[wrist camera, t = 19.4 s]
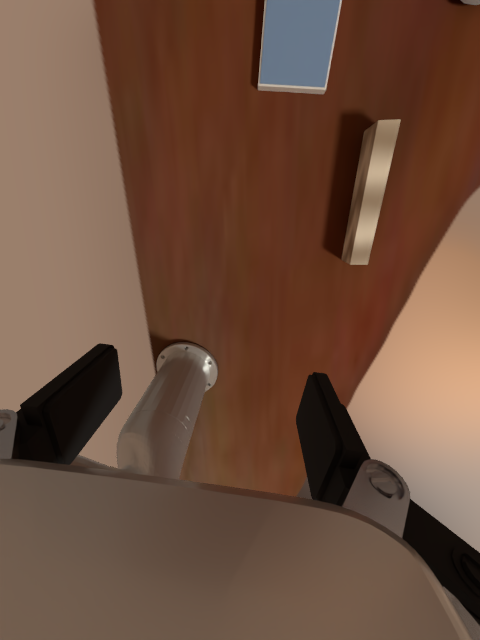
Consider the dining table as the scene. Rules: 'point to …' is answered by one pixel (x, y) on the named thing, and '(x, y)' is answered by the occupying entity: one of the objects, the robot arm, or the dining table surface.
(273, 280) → the dining table surface
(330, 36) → the tile
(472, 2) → the can
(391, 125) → the cream wooden plank
